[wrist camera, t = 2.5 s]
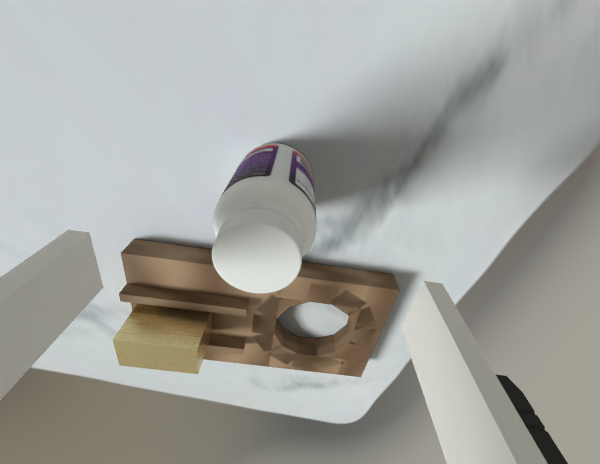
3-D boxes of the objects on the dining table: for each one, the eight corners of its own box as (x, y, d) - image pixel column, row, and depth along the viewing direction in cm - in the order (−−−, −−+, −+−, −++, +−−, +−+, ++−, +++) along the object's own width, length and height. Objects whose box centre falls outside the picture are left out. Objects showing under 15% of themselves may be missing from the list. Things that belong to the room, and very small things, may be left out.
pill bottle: (233, 202, 22) (189, 291, 14) (245, 131, 19) (199, 190, 11) (302, 219, 23) (299, 315, 14) (323, 153, 20) (335, 224, 12)
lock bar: (144, 324, 26) (119, 365, 22) (140, 300, 24) (112, 340, 21) (212, 332, 26) (198, 374, 23) (212, 308, 25) (196, 349, 21)
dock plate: (150, 335, 30) (134, 363, 27) (134, 238, 24) (111, 262, 21) (357, 359, 32) (362, 388, 29) (393, 274, 25) (403, 300, 23)
